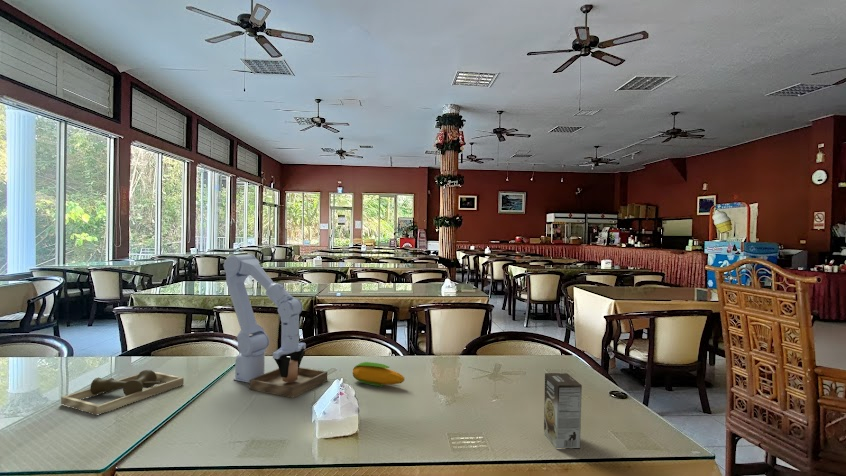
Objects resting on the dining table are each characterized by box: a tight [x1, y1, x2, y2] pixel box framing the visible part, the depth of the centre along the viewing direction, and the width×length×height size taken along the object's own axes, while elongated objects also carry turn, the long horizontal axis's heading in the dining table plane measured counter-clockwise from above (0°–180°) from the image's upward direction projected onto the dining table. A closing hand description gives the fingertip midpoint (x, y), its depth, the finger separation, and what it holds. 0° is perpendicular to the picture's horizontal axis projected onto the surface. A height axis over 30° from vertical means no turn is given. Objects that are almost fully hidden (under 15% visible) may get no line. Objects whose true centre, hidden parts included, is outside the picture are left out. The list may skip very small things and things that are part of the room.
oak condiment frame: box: [60, 370, 185, 415], centre depth 139 cm, size 17×27×2 cm, turn 157°
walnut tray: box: [249, 366, 328, 399], centre depth 150 cm, size 18×18×3 cm
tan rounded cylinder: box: [282, 360, 298, 382], centre depth 150 cm, size 5×5×6 cm
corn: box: [352, 361, 405, 388], centre depth 152 cm, size 7×8×20 cm
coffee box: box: [543, 372, 583, 449], centre depth 113 cm, size 9×6×16 cm
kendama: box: [89, 369, 162, 396], centre depth 139 cm, size 6×10×20 cm
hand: (289, 374), depth 150 cm, fingers closed on tan rounded cylinder, 5 cm apart
